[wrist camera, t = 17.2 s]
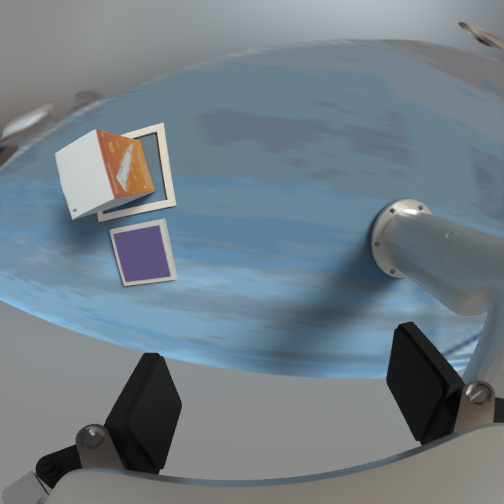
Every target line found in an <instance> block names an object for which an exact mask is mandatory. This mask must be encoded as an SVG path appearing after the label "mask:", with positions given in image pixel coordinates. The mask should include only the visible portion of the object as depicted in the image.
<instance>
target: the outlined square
mask: <svg viewBox="0 0 504 504" xmlns="http://www.w3.org/2000/svg"><path fill="white" fill-rule="evenodd" d="M155 132H157V134H158V142H159V149H160V156H161V163H162V169H163V176H164V182H165V188H166V193H167V199H168V200H164V201H159V202H154V203H150V204H145V205H140V206H136V207H132V208H127V209H123V210H119V211H114V212H110V213H106V214H104V212H103V211H101V212H97V215H98V220H99V222H101V221H105V220H110V219H114V218H118V217H123V216H127V215H132V214H136V213H141V212H146V211H151V210H156V209H161V208H166V207H171V206H176V201H175V195H174V189H173V183H172V177H171V171H170V165H169V158H168V151H167V144H166V137H165V129H164V123H161V124H157V125H153V126H150V127H146V128H143V129H139V130H136V131H133V132H129V133H126V134H123V135H120V136H124V137H128V138H131V139H133V138H137V137H140V136H144V135H147V134H151V133H155Z"/></svg>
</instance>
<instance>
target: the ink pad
mask: <svg viewBox="0 0 504 504" xmlns="http://www.w3.org/2000/svg"><path fill="white" fill-rule="evenodd" d="M110 234H111V238H112V243H113V247H114V251H115V255H116V259H117V262H118V266H119V270H120V273H121V277H122V280H123V284H124V286H128V285H136V284H144V283H153V282H161V281H169V280H176V279H177V278H178V275H177V271H176V266H175V262H174V258H173V253H172V249H171V244H170V239H169V235H168V230H167V225H166V220H165V218H163V219H158V220H152V221H147V222H142V223H137V224H132V225H127V226H123V227H118V228H113V229H111V230H110Z"/></svg>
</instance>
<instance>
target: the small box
mask: <svg viewBox="0 0 504 504" xmlns="http://www.w3.org/2000/svg"><path fill="white" fill-rule="evenodd" d="M55 157H56V162H57V167H58V171H59V176H60V181H61V186H62V189H63V192H64V195H65V198H66V201H67V204H68V208H69V211H70V214H71V217H72V219H73V220H74V219H77V218H81V217H84V216H87V215H90V214H94V213H97V212H101V211H104V210H108V209H111V208H114V207H118V206H121V205H123V204H126V203H128V202H130V201H133V200H135V199H138V198H140V197H143V196H145V195H148V194H150V193H153V192H155V191H156V190H155V187H154V185H153V182H152V179H151V176H150V173H149V170H148V167H147V163H146V160H145V156H144V153H143V149H142V145H141V142H140V141H138V140H135V139H131V138H128V137H124V136H120V135H116V134H113V133H109V132H105V131H101V130H97V129H95V130H93V131H91V132H90V133H88V134H86V135H84V136H83V137H81V138H79V139H77V140H76V141H74V142H72V143H71V144H69V145H68V146H66V147H64V148H63V149H61V150H60V151H58V152H57V153H55Z"/></svg>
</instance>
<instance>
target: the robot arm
mask: <svg viewBox="0 0 504 504" xmlns="http://www.w3.org/2000/svg"><path fill="white" fill-rule="evenodd" d="M390 209H391V211H390ZM375 243H376V244H375ZM371 251H372V255H373V258H374V260H375V262H376V264H377V265H378V267H379V268H380V269H381V270H382V271H384V272H385V273H386V274H388V275H390V276H392V277H396V278H404V277H408V278H410V279H411V280H412V281H414V282H415V283H416V284H418V285H419V286H420V287H422V288H423V289H424V290H426V291H427V292H428V293H430V294H431V295H432V296H433V297H435V298H436V299H437V300H438V301H440V302H441V303H442V304H444V305H445V306H446V307H448V308H449V309H450V310H451V311H453V312H455V313H457V314H459V315H463V316H474V315H479V314H482V313H485V312H487V318H486V321H485V324H484V327H483V330H482V334H481V337H480V339H479V341H478V344H477V346H476V348H475V351H474V353H473V355H472V357H471V359H470V361H469V363H468V366H467V368H466V370H465V372H464V374H463V376H462V378H461V377H460V376H459V375H458V373H457V372H456V371H455V370H454V369H453V367H452V366H451V365H450V364H449V363H448V361H447V360H446V359H445V358H444V357H443V355H442V354H441V353H440V352H439V351H438V350H437V349H436V347H435V346H434V345H433V344H432V343H431V342H430V340H429V339H428V338H427V337H426V336H425V335H424V334H423V333H422V332H421V330H420V329H419V328H418V327H417V326H416V325H415V324H414V323H413V322H407V323H403V324H399V325H398V328H397V329H395V330H394V336H393V343H392V350H391V356H390V361H389V367H388V372H387V378H386V380H387V385H388V387H389V389H390V390H391V393H392V394H393V396H394V398H395V400H396V402H397V404H398V406H399V408H400V410H401V412H402V414H403V416H404V418H405V420H406V422H407V424H408V426H409V428H410V430H411V432H412V434H413V436H414V438H415V440H416V441H420V443H421V445H422V446H420V447H417V448H414V449H411V450H408V451H406V452H403V453H400V454H397V455H394V456H391V457H387V458H384V459H381V460H377V461H374V462H370V463H367V464H363V465H358V466H355V467H350V468H345V469H341V470H336V471H331V472H325V473H320V474H313V475H306V476H299V477H290V478H279V479H265V480H206V479H192V478H181V477H172V476H164V475H158V474H159V471H160V469H163V468H164V466H165V462H166V459H167V456H168V452H169V449H170V445H171V442H172V438H173V435H174V432H175V428H176V425H177V422H178V419H179V415H180V412H181V408H182V403H181V400H180V397H179V395H178V392H177V390H176V388H175V385H174V383H173V380H172V378H171V375H170V373H169V370H168V367H167V365H166V362H165V359H164V357H163V356H160V355H159V353H144V354H143V356H142V358H141V359H140V361H139V363H138V364H137V366H136V368H135V369H134V371H133V373H132V375H131V376H130V378H129V380H128V382H127V383H126V385H125V387H124V389H123V390H122V392H121V394H120V396H119V397H118V399H117V401H116V403H115V405H114V406H113V408H112V410H111V412H110V414H109V416H108V417H107V419H106V422H105V424H104V426H102V425H99V424H91V425H87V426H85V427H83V428H82V429H81V430H80V431H79V432H78V433H77V435H76V444H75V445H73V446H70V447H68V448H65V449H62V450H60V451H57V452H54V453H51V454H49V455H46V456H44V457H42V458H41V459H40V460H39V461H38V463H37V464H36V472H35V473H34V472H33V471H30V472H29V473H28V474H26V475H25V476H23V477H22V478H20V479H19V480H17V481H16V482H14V483H12V484H11V485H9V486H8V487H6V489H4V491H3V494H2V499H3V502H4V504H504V238H501V237H497V236H494V235H491V234H488V233H485V232H483V231H480V230H477V229H473V228H471V227H468V226H465V225H462V224H459V223H456V222H452V221H449V220H446V219H443V218H440V217H436V216H433V215H432V213H431V212H430V210H429V209H428V208H427V207H426V206H425V205H424V204H423V203H421V202H419V201H417V200H413V199H407V198H406V199H399V200H396V201H394V202H392V203H390V204H389V205H387V206H386V207H385V208H384V209H383V210H382V211H381V213H380V214H379V215H378V217H377V219H376V221H375V223H374V226H373V229H372V233H371Z"/></svg>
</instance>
